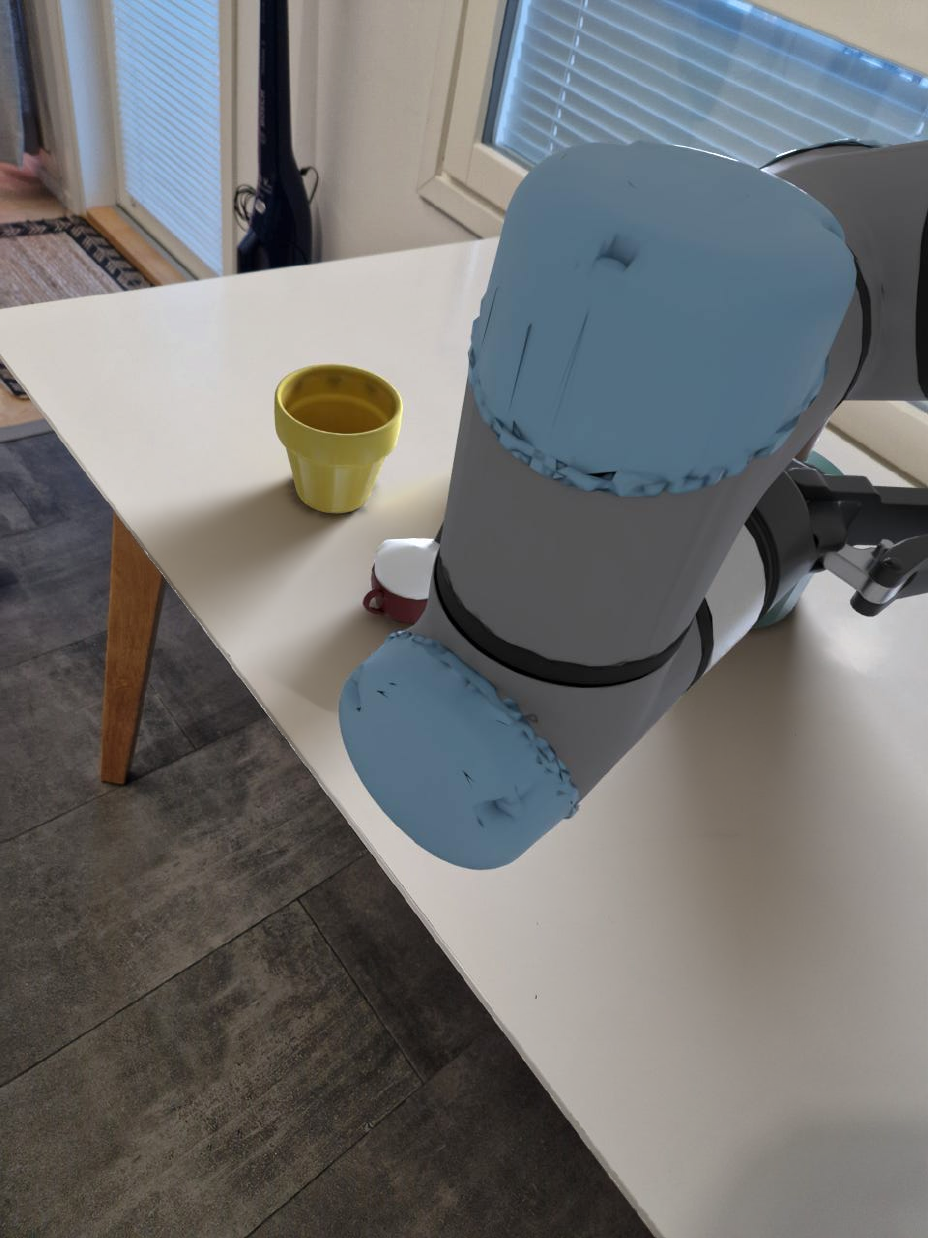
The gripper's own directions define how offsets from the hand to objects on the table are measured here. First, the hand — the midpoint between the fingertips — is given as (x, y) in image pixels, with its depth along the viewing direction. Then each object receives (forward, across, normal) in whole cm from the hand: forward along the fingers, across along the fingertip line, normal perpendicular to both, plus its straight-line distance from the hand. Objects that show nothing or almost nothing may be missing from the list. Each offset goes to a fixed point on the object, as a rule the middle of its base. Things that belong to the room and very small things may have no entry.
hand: (885, 391), depth 47 cm
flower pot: (-5, -36, -28) cm, 46 cm away
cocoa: (-10, -22, -28) cm, 37 cm away
